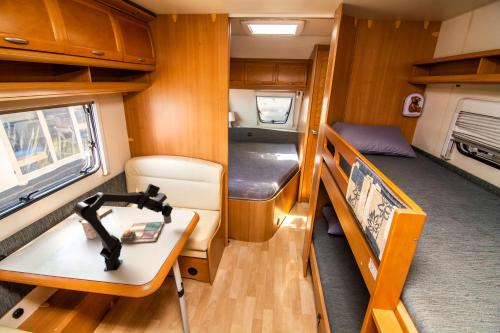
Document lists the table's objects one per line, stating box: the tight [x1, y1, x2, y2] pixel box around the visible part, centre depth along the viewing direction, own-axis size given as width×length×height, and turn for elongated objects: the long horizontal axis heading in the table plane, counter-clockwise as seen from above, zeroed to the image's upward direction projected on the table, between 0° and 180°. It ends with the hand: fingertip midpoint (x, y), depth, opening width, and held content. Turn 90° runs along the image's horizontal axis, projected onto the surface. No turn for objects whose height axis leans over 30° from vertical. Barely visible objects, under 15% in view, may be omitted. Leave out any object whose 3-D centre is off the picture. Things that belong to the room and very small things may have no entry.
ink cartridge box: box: [80, 212, 102, 240], centre depth 138 cm, size 9×5×15 cm, turn 168°
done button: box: [123, 229, 131, 237], centre depth 134 cm, size 3×3×3 cm
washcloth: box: [78, 207, 113, 223], centre depth 160 cm, size 12×18×3 cm, turn 165°
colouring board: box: [119, 221, 165, 245], centre depth 141 cm, size 20×20×4 cm
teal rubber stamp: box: [162, 202, 172, 225], centre depth 141 cm, size 5×5×12 cm
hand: (168, 211), depth 142 cm, fingers closed on teal rubber stamp, 4 cm apart
